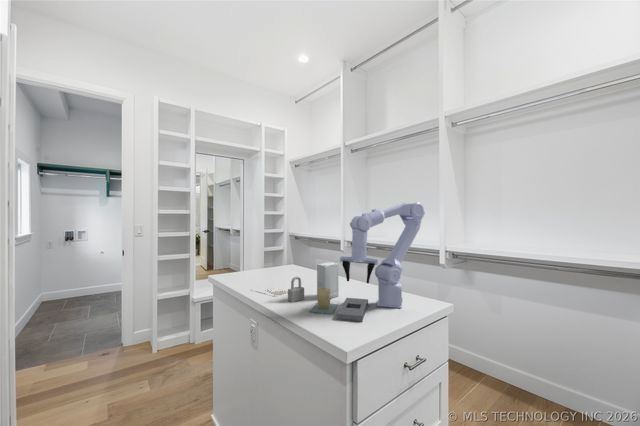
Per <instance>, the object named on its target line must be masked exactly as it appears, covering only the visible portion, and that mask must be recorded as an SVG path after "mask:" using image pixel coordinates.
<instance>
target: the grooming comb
mask: <svg viewBox="0 0 640 426" xmlns="http://www.w3.org/2000/svg"><path fill="white" fill-rule="evenodd" d="M265 291H266V290H265ZM271 291H272V290H271ZM271 291H269V290H268V289H267V292H269V293H271V294H274V295H280V296H282V294H283V295H286V294H288V290H284V292H283V290H282V291H279V292H278V291H275V292H271ZM286 291H287V292H286Z"/></svg>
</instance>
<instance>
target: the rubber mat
mask: <svg viewBox="0 0 640 426" xmlns="http://www.w3.org/2000/svg"><path fill="white" fill-rule="evenodd" d="M338 307H339V303H330V307H329V309H328V310H326V309H318V302H316V303H315V304H313V306H312V307H311V308H310V310H309V311H308V313H314V314H315V313H316V314H323V315H333V314H334V313H335V311H336V310H337V309H338Z"/></svg>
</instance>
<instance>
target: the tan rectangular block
mask: <svg viewBox="0 0 640 426" xmlns="http://www.w3.org/2000/svg"><path fill="white" fill-rule="evenodd" d="M317 303H318V309H326V310H328V309H329V307H330V304H331V298H330V289H329V288H320V289H319V290H318V297H317Z"/></svg>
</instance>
